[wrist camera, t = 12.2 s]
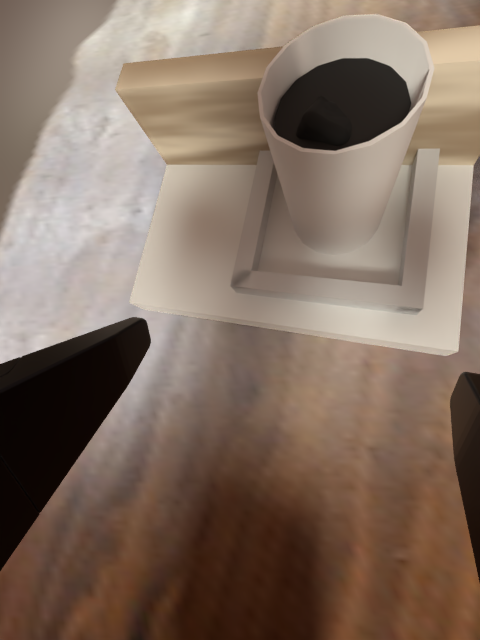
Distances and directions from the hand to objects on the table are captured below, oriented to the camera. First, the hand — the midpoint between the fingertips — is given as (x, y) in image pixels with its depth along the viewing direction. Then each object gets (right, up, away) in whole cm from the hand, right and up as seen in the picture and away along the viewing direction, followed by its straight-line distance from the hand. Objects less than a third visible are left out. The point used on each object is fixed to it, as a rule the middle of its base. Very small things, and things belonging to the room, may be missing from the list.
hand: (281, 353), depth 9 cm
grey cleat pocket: (+3, +6, +15) cm, 17 cm away
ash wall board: (+4, +13, +17) cm, 21 cm away
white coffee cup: (+5, +8, +13) cm, 16 cm away
